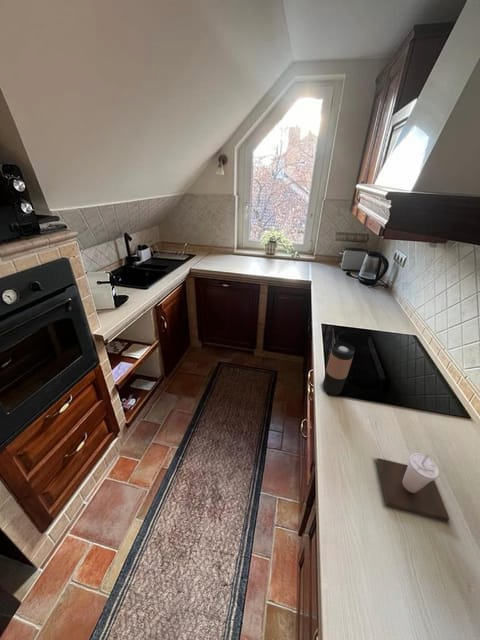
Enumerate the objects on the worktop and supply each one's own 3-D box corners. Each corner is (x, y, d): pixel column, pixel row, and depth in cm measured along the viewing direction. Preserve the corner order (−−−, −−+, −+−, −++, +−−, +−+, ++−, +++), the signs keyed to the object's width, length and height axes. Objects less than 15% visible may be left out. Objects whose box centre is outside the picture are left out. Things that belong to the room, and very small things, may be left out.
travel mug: (317, 384, 102) (328, 344, 91) (332, 379, 104) (344, 339, 94) (330, 398, 96) (343, 356, 85) (346, 392, 98) (360, 351, 88)
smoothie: (398, 468, 72) (417, 438, 65) (424, 482, 69) (447, 452, 62) (395, 488, 68) (414, 457, 60) (423, 504, 64) (447, 474, 57)
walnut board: (428, 473, 73) (430, 470, 72) (446, 521, 63) (449, 518, 62) (375, 460, 75) (377, 457, 75) (385, 505, 65) (387, 502, 65)
